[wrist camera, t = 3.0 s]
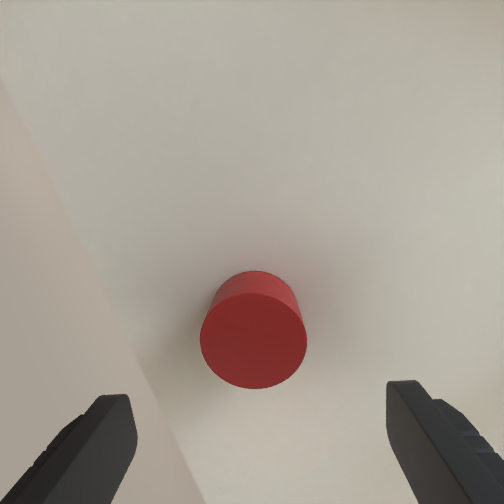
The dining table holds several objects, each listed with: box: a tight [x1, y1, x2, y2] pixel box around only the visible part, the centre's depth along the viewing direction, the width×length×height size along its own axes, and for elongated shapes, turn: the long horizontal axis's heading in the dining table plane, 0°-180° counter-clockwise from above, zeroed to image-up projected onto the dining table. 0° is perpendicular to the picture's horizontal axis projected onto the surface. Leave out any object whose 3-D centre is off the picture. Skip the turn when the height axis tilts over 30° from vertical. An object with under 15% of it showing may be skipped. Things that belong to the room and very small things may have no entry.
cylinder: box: [200, 271, 307, 389], centre depth 14 cm, size 5×5×3 cm
